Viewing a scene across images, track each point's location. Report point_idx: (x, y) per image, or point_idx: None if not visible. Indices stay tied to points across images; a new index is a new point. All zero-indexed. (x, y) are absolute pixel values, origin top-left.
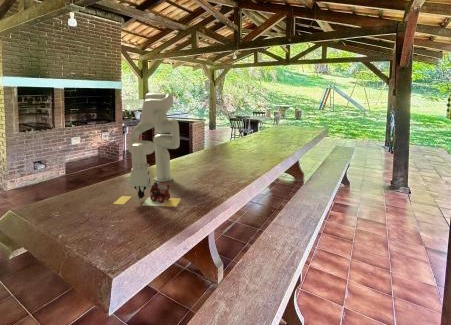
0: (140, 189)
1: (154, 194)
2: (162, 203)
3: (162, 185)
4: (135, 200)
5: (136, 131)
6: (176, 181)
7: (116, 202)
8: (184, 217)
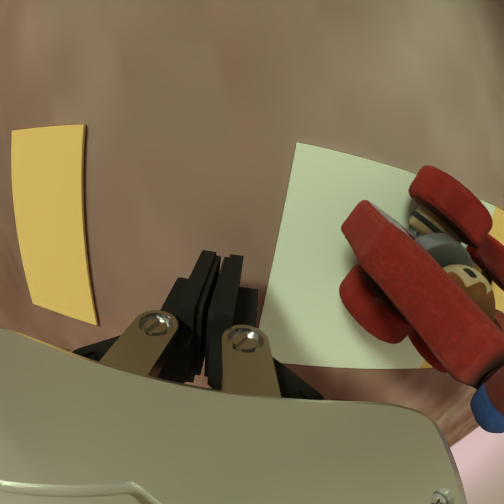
0: (183, 353)
1: (403, 330)
2: None
3: None
4: (153, 237)
5: None
6: None
7: (36, 282)
8: (449, 432)
